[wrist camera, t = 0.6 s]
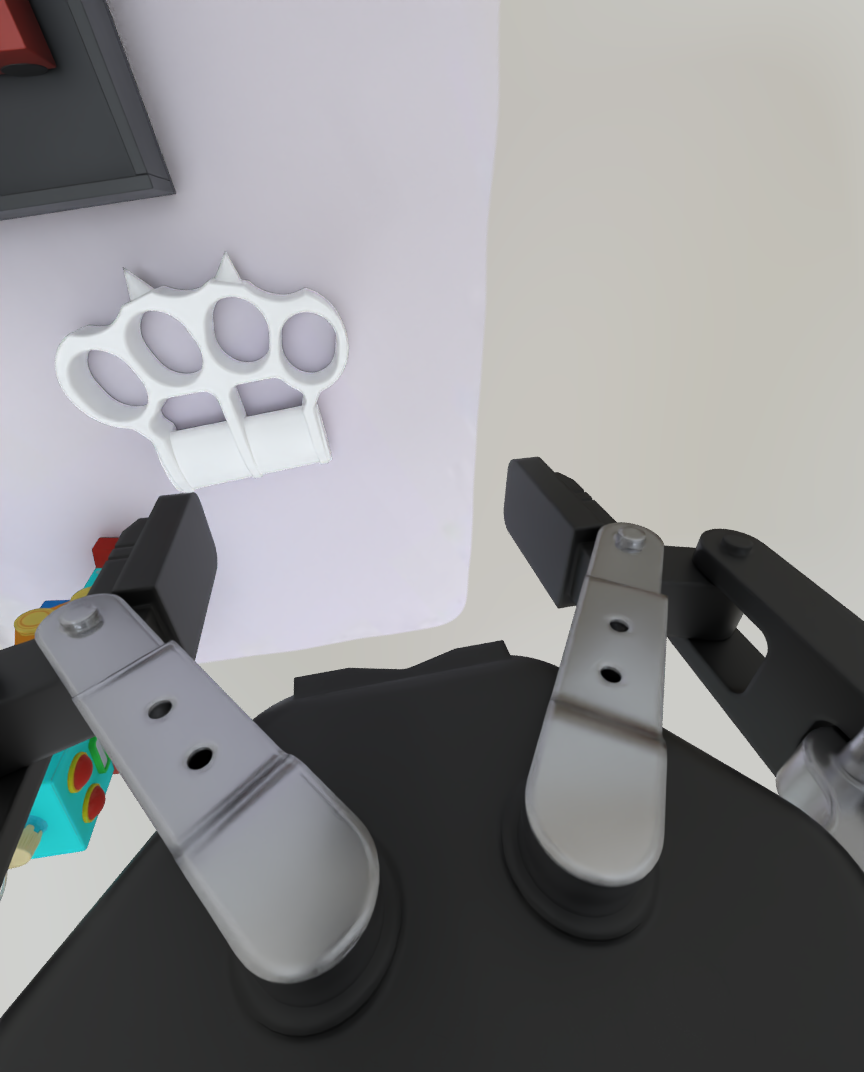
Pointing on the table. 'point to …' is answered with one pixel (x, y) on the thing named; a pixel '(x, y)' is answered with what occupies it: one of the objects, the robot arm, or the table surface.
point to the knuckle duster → (208, 382)
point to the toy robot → (65, 766)
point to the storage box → (76, 121)
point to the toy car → (22, 41)
